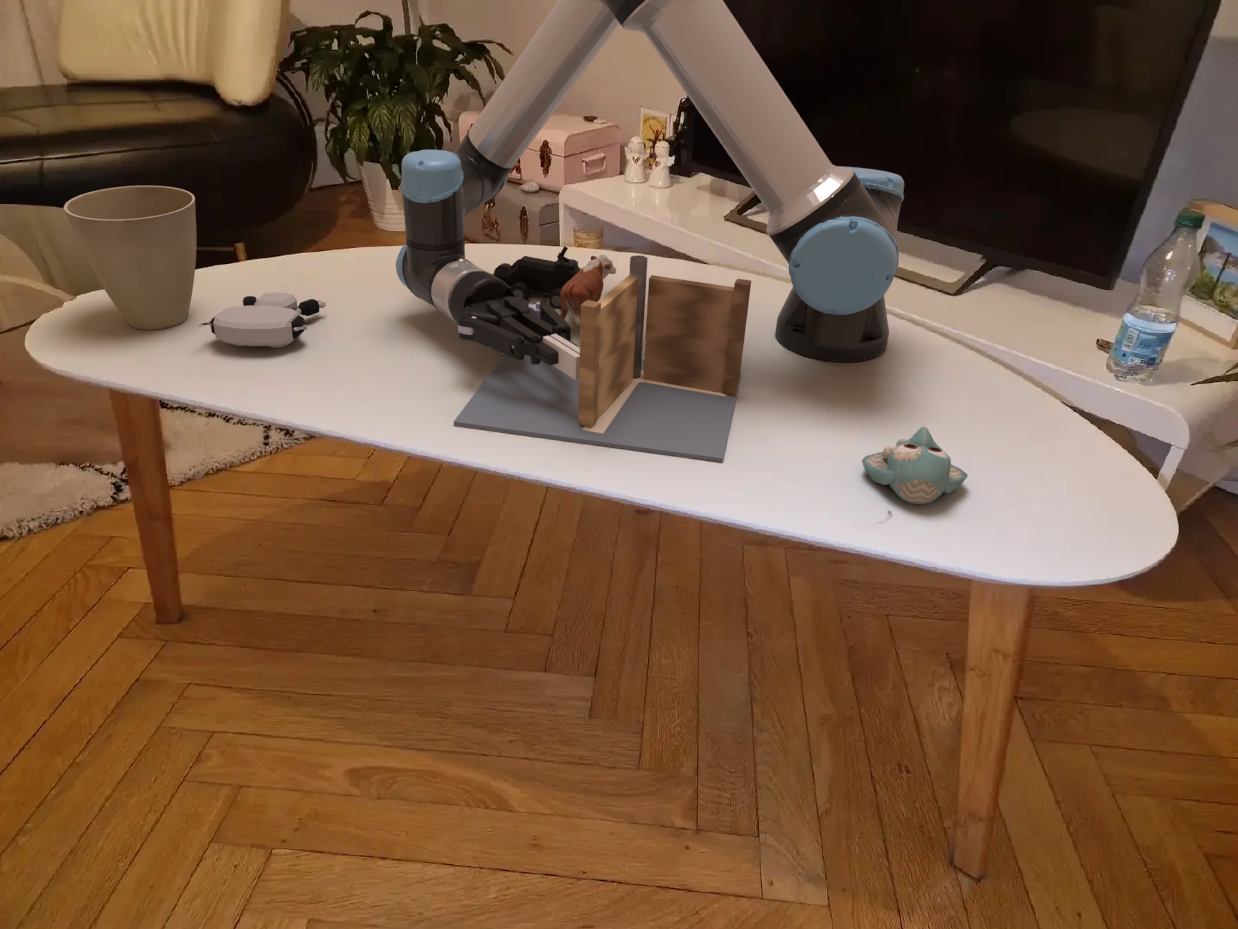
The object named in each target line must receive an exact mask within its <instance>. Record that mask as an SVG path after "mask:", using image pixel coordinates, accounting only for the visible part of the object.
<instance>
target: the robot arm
mask: <svg viewBox="0 0 1238 929" xmlns="http://www.w3.org/2000/svg"><path fill="white" fill-rule="evenodd" d="M619 26H621V28H622V29H623V30H626V31H632V32H633V31H635V32H639V33H643V34H644V35H645V36H646V38H647V39H648V41H649V42H650V44H651V45H652V47H653V48H654V49H655V51H656V53H657V54H658V55H659V57H660V58H661V60H662V61H663V62H664V64H665V65H666V66H667V68H668V69H669V71H670V73H671V75H673V76H674V78H675V79H676V81H677V82H678V84H679V85H680V87H681V88H682V90H683V91H684V93H685V94H686V96H688V98H689V99H690V101H691V102H692V104H693V105H694V106H695V108H696V110H697V111H698V113H699V114H700V115H701V117H702V118H703V120H704V122H706V124H707V125H708V127H709V128H710V129H711V131H712V133H713V134H714V136H715V137H716V139H718V141H719V143H720V144H721V145H722V147H723V148H724V150H725V151H726V153H727V155H728V156H729V157H730V158H731V160H732V161H733V163H734V164H735V165H736V167H737V168H738V170H739V171H740V174H742V176H743V177H744V178H745V180H746V181H747V183H748V184H749V186H750V187H751V188H752V191H754V193H755V194H756V196H757V197H758V199H759V200H760V201H761V204H763V206H764V207H765V209H766V210H767V212H768V220H767V224H766V233H767V235H768V237H769V238H770V239H771V241H772V242H773V244H774V245H775V247H776V248H777V249H778V251H779V252H780V254H781V255H782V257H783V258H784V260H785V261H786V263H788V274H789V276H790V282H791V284H792V288H791V290H790V291H789V294H788V295H787V298H786V299H785V301H784V303H783V305H782V308H781V310H780V311H779V313H778V316H777V319H776V325H775V334H774V335H775V337H776V339H777V341H778V342H779V343H780V344H781V345H783V347H785V348H787V349H788V350H791V351H792V352H795V353H798V354H800V355H803V356H806V357H810V358H814V359H817V360H823V361H824V360H825V361H829V362H830V361H831V362H845V363H846V362H847V363H848V362H850V363H851V362H860V361H861V362H863V361H868V360H870V359H875V358H877V357H879V356H881V355H882V354H883V353H884V352H885V351H886V350H887V345H888V339H889V336H890V328H889V320H888V315H887V314H888V313H887V308H886V307H887V306H886V298H885V295H886V293H887V292H888V290H889V289H890V287H891V285H892V283H893V281H894V278H895V277H896V274H897V270H898V268H899V261H900V258H899V255H900V254H899V248H898V223H899V222H898V221H899V215H900V211H901V206H902V202H903V201H904V198H905V195H904V188H905V181H904V179H903V177H902V176H901V175H899V174H897V173H893V172H889V171H887V170H886V171H885V170H880V169H879V170H878V169H873V168H865V167H863V168H862V167H854V166H842V165H841V166H839V165H838V166H837V165H835V164H833V163H832V162H831V160H829V157H827V155H826V153H825V152H824V150H823V149H822V147H821V146H820V144H819V142H818V141H817V140H816V138H815V137H814V135H813V134H812V132H811V131H810V129H809V128H808V126H807V125H806V123H805V121H804V120H803V119H802V117H801V116H800V114H799V113H798V111H797V109H796V108H795V107H794V105H793V103H792V102H791V100H790V99H789V98H788V95H786V93H785V92H784V90H783V89H782V86H780V84H779V82H778V81H777V79H776V78H775V76H774V75H773V74H772V72H771V71H770V69H769V68H768V65H766V63H765V62H764V60H763V58H762V56H760V54H759V53H758V51H757V50H756V48H755V47H754V45H753V43H752V42H751V41H750V39H749V37H748V36H747V35H746V33H745V31H744V30H743V28H742V26H740V24H739V22H738V21H737V19H736V18H735V17H734V15H733V13H732V12H731V11H730V9H729V8H728V6H727V4H726V3H725V1H724V0H557V1H556V3H555V4H554V6H553V7H552V8H551V10H550V12H549V13H548V14H547V16H546V17H545V19H544V20H543V21H542V23H541V24H540V26H539V27H538V29H537V31H536V32H535V33H534V35H533V36H532V38H531V39H530V41H529V42H528V44H527V45H526V47H525V48H524V50H523V51H522V52H521V53H520V55H519V57H518V58H517V60H516V61H515V63H514V64H513V66H512V67H511V68H510V70H509V71H508V73H507V74H506V76H505V77H504V78H503V80H502V81H501V83H500V85H499V86H498V87H497V89H496V90H495V92H494V93H493V95H492V96H491V97H490V99H489V100H488V102H487V103H486V105H485V106H484V108H483V109H482V111H481V112H480V113H479V115H478V116H477V118H476V119H475V121H474V122H473V123H472V125H471V127H470V128H469V130H468V132H467V133H466V135H465V136H464V137H463V139H462V140H461V142H460V143H459V144H458V145H457V147H456V149H455V150H454V151H453V152H452V151H449V150H443V149H442V150H440V149H422V150H421V149H420V150H419V151H411V152H408V153H407V154H405V155H404V157H403V158H402V161H401V180H400V190H401V192H402V194H401V195H402V204H403V215H404V216H403V217H404V226H405V228H404V230H405V238H406V239H405V240H406V241H405V244H404V245H403V246H402V247H401V248H400V250H399V253H398V256H397V257H396V260H395V270H396V274H397V277H398V280H400V282H401V283H402V285H404V286H405V288H406V289H408V290H409V292H410V293H412V294H413V295H414V296H415V297H416V298H418V299H420V300H422V301H424V302H426V303H428V304H429V305H431V306H433V308H436V309H437V310H438V311H439V312H441V313H442V314H443V315H445V316H446V317H447V318H449V319H450V320H452V321H453V322H454V323H456V324H457V331H458V332H457V334H458V339H460V340H462V341H463V340H464V341H469V342H474V343H476V344H478V345H481V346H484V347H486V348H488V349H490V350H493V351H495V352H497V353H500V354H501V355H503V356H504V355H506V356H509V357H511V358H513V359H516V360H522V359H524V356H525V355H528V356H529V357H531V364H534V365H537V364H540V363H541V360H542V361H543V362H545V363H546V364H549V365H553V366H555V367H556V368H558V369H559V370H561V371H562V372H564V373H565V374H567V375H568V376H570V377H572V378H573V379H575V380H578V379H579V366H580V347H579V345H578V344H577V343H574V342H573V341H572V326H571V325H570V324H569V323H568V322H567V321H566V319H565V320H564V319H563V318H562V317H561V316H560V314H559V313H558V312H557V311H556V310H555V308H552V307H551V306H550V300H549V299H547V298H548V297H547V298H545V297H543V298H540V299H539V301H536V303H535V304H534V303H533V304H532V303H529V302H528V301H526V300H525V299H521V298H517V297H515V295H514V294H513V292H512V290H511V289H510V288H511V287H510V286H508V285H507V284H506V283H505V282H504V281H502V280H501V279H499V278H497V277H495V276H494V275H492V273H491V272H487V271H486V270H485V269H482V268H481V267H480V266H477V265H476V264H474V263H473V262H472V261H470V260H468V259H466V252H465V251H466V248H465V246H466V245H465V242H466V239H465V217H466V216H467V215H468V214H470V213H471V212H472V211H474V210H475V209H477V208H478V207H480V206H482V205H483V204H484V203H486V202H488V201H490V200H492V199H494V198H495V197H496V196H497V195H498V194H499V193H500V192H501V191H502V190H503V189H504V187H505V186H506V184H507V181H508V177H509V174H510V173H511V171H512V169H513V168H514V167H515V165H516V164H517V162H518V161H519V159H520V158H521V157H522V156H523V154H524V153H525V152H526V150H528V148H529V147H530V145H531V144H532V142H534V139H535V138H536V137H537V135H539V133H540V132H541V130H542V129H543V127H545V125H546V123H547V122H549V119H550V118H551V117H552V116H553V114H554V113H555V111H556V110H558V107H559V106H560V105H561V104H562V102H563V101H564V99H565V98H566V97H567V95H568V94H569V92H570V91H571V90H572V88H574V86H575V84H576V83H577V82H578V81H579V79H580V78H581V77H582V76H583V74H584V72H585V71H586V70H587V68H588V67H589V66H590V65H591V63H592V62H593V60H594V59H595V58H596V57H597V56H598V54H599V53H600V51H601V49H603V47H604V46H605V45H606V43H607V42H608V40H609V39H610V38H611V36H612V35H613V33H614V32H615V31H616V29H618V27H619ZM512 345H513V346H514V349H513V348H512Z"/></svg>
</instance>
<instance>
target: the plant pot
mask: <svg viewBox="0 0 1238 929" xmlns="http://www.w3.org/2000/svg"><path fill="white" fill-rule="evenodd" d="M63 210H64V213H65V215H66V217H67V220H68V222H69V224H70V226H71V228H72V230H73V233H74V236H75V238H76V240H77V242H78V244H79V247H80V249H81V250H82V252H83V254H84V256H85V259H86V260H87V262H88V264H89V265H90V267H91V269H92V271H93V273H94V275H95V276H96V278H97V280H98V282H99V283H100V285H101V286H102V288H103V289H104V291H105V292H106V294H107V296H108V298H109V299H110V300H111V301H112V303H113V304H114V306H115V308H116V309H117V310H118V311H119V313H120V314H121V316H122V317H123V318H124V320H125V321H126V322H127V323H128V325H129V326H131V327H132V328H134V327H135V329H139V330H145V329H146V330H147V331H149V330H150V331H151V330H161V329H168V328H171V327H174V325H175V326H177V325H179V324H182V323H183V322H185V321H186V320H187V319H188V316H189V312H190V308H191V307H190V306H191V301H192V295H193V290H194V284H195V283H194V281H195V274H196V265H197V264H196V262H197V218H196V217H197V216H196V214H197V212H196V197H195V195H194V194H193V193H191V192H190V191H188V190H185V189H183V188H177V187H172V186H163V185H127V186H118V187H116V186H115V187H111V188H110V187H109V188H103V189H99V190H94V191H93V190H92V191H90V192H86V193H82V194H80V195H77V196H75V197H73V198H70V199H69V200H68V201H66V202H65V204H64V205H63ZM167 327H168V328H167Z"/></svg>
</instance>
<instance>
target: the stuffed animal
mask: <svg viewBox="0 0 1238 929" xmlns="http://www.w3.org/2000/svg"><path fill="white" fill-rule="evenodd" d="M951 462H952V459H951V456H949V455H948V454H947V452H945V451H944V450H943V449H942V448H941V447H940V446H939V445H938V444H937V443H936V441H935V440H934V438H933V436H932V434H931V433H930V430H929V429H928V428H927V427H925V426H921V427H920V428H919V429H917V430H916V432H915V433H914V434H913V435H912V436H911V437H910V438H909V439H905V438H901V439H898V440H897V442H896V443H895V447H893V446H889V445H887V446H886V447H884V448H883V450H882V451H880V452H876V453H872V454H869V455H865V456H864V457H863V459H861V463H862V466H863V468H864V471H865V473H866V474H867V475H868V476H869V477H870V479H871V480H872V482H873V483H875V484H881V485H883V486H886V485H889V487H890V488H891V489H892V490H893V491H894V493H895V494H896V495H897V496H898V497H899V498H900V499H901V500H902V501H904V502H907V503H910V504H914V505H925V504H930V503H932V502H934V501H935V500H936V499H938V498H939V497H940V496H942V494H951V493H952V492H953V491H955V490H956V489H958V488H960V486H961V485H962V484H963V483H964V481H965V480H966V479H967V478H968V476H969V475H968V473H966V472H965V471H964V470H962V469H961V468H960V467H957V466H956V465H953V464H951Z"/></svg>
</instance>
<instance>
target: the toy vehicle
mask: <svg viewBox="0 0 1238 929" xmlns="http://www.w3.org/2000/svg"><path fill="white" fill-rule="evenodd" d="M568 249H569V248H568V247H567V246H563V248H562V250H561V251H560V252H559V253H558V254H557V259H556V261H554V260H548V259H543V258H539V257H533V256H527V255H524V256H522V257H521V258H519V259H517V260H516V261H514V263H512V265H511V264H509V263H508V262H504V263H500V264H499V265H498V266H497V267H495V269H494V270H493V274H492V273H491V274H492V275H494V276H495V277H497V278H499V279H501V280H502V281H504V282H505V283H506V284H507V285H508V286H509V287H510V289H511V290H512V292H513V294H514V295H515V297H517V298H521V299H525V300H526V301H527V302H528V301H529V300H530V299H531V297H532V292H536V293H541V294H546V295H548V296H547V299H549V300H550V306H551V307H552V308H553V309H554V310H555V309H556V310H561V303H560V292H561V289H562V288H563V286H564V285H565V284H566V283H567V282H568V281H569V280H571V279H572V278H573V277H574V276H575V275H576V274H577V273H578V272H579V271H580V269H581V268H580V267H579V262H578V261H577V260H576V259H570V258H567V257H565V254H566V252H567V251H568Z"/></svg>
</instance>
